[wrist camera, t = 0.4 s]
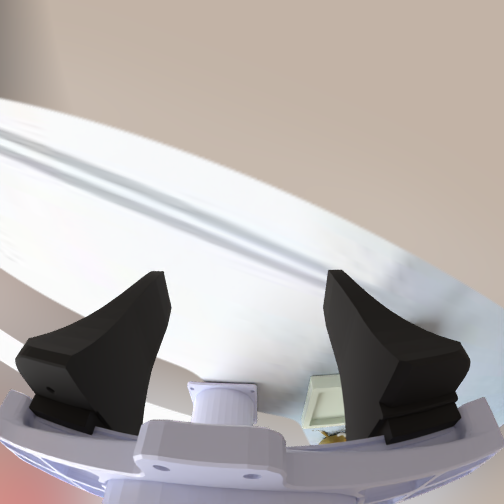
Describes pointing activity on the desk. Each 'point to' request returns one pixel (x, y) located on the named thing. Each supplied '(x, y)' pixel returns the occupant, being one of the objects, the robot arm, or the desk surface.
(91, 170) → the desk surface
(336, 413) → the tray
